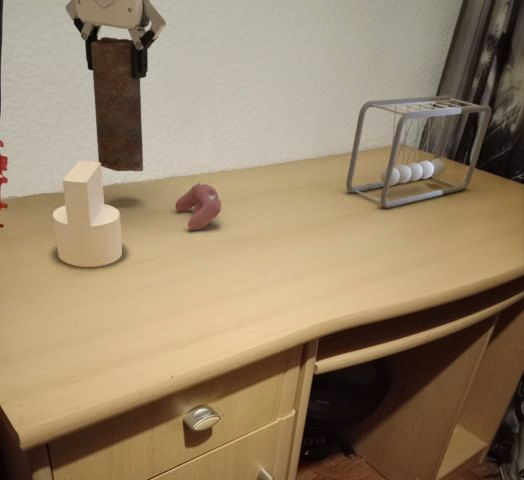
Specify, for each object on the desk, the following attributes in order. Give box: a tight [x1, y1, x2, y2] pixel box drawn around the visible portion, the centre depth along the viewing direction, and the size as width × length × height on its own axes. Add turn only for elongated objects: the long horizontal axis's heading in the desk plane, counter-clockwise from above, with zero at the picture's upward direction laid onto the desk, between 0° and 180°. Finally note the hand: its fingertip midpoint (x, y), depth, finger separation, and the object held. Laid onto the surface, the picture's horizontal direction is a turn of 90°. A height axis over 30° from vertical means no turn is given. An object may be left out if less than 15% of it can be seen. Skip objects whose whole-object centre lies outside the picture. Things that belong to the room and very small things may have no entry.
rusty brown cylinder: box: [91, 36, 144, 173], centre depth 88 cm, size 8×7×20 cm
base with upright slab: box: [52, 160, 123, 268], centre depth 76 cm, size 9×9×12 cm
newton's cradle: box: [345, 95, 492, 209], centre depth 112 cm, size 30×10×18 cm, turn 129°
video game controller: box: [174, 182, 222, 231], centre depth 92 cm, size 10×5×7 cm, turn 22°
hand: (117, 72), depth 85 cm, fingers closed on rusty brown cylinder, 7 cm apart
